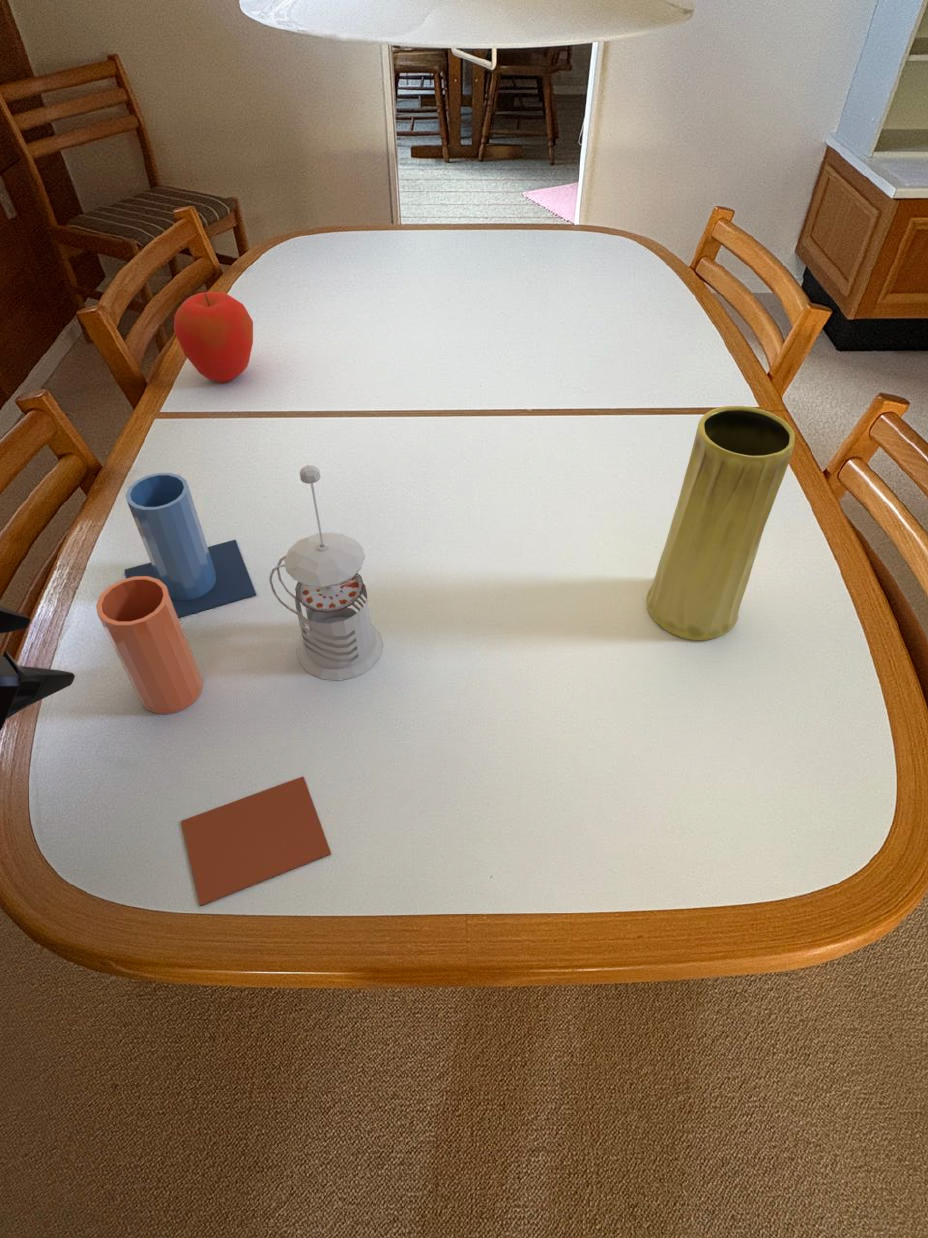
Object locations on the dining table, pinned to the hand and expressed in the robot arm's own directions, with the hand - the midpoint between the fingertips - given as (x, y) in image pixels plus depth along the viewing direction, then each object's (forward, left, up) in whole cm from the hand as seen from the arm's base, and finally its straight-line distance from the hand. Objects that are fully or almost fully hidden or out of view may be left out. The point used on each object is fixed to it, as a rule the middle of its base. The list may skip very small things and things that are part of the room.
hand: (50, 649), depth 71 cm
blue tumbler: (+13, +20, -14) cm, 27 cm away
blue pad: (+13, +20, -14) cm, 27 cm away
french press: (+26, +3, -14) cm, 30 cm away
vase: (+67, -9, -14) cm, 69 cm away
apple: (+28, +67, -14) cm, 74 cm away
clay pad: (+12, -17, -14) cm, 25 cm away
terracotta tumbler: (+8, +4, -14) cm, 17 cm away
